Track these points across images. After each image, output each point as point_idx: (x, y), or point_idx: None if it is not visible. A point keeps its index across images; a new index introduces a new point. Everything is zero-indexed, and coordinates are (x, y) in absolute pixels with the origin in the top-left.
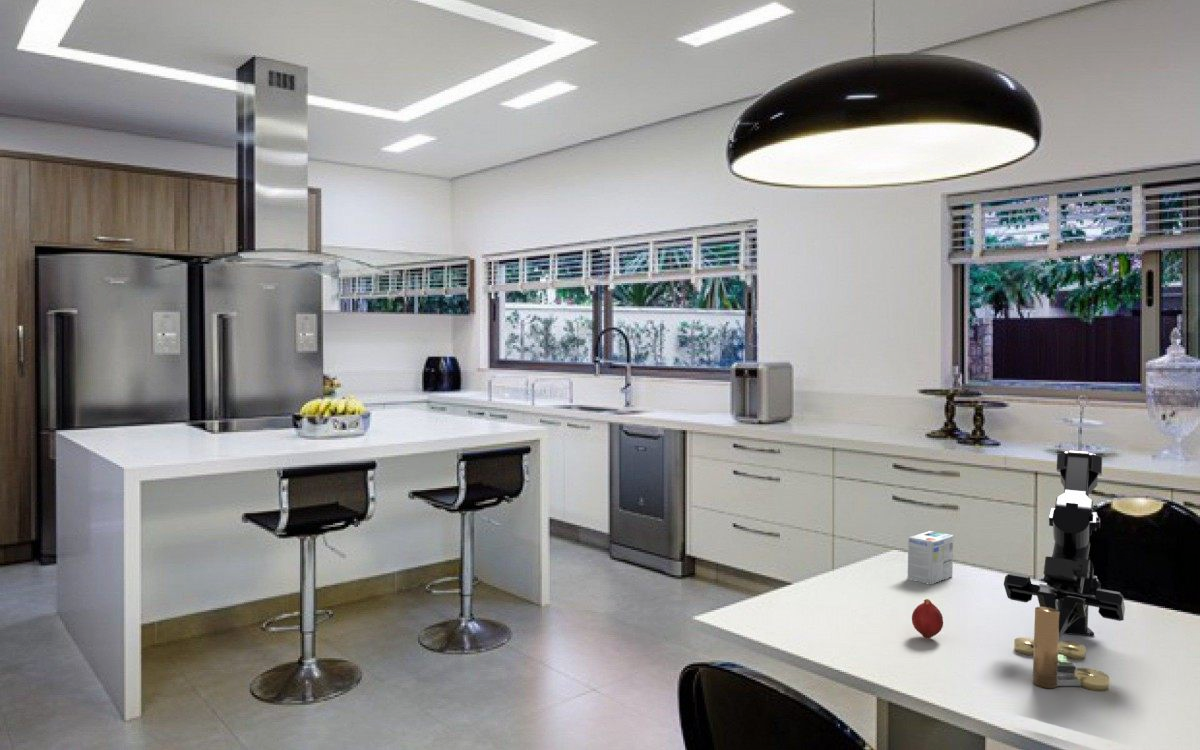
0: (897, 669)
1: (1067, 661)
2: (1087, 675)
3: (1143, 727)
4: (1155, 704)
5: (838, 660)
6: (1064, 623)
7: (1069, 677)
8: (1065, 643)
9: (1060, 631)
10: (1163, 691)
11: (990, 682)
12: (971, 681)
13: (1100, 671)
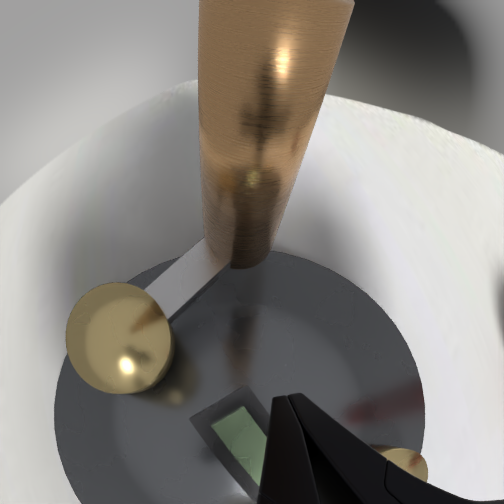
0: (458, 177)
1: (223, 432)
2: (123, 312)
3: (34, 214)
4: (8, 366)
5: (492, 165)
6: (261, 476)
7: (177, 284)
8: None
9: (268, 428)
10: (13, 466)
11: (354, 221)
12: (378, 200)
13: (95, 385)
